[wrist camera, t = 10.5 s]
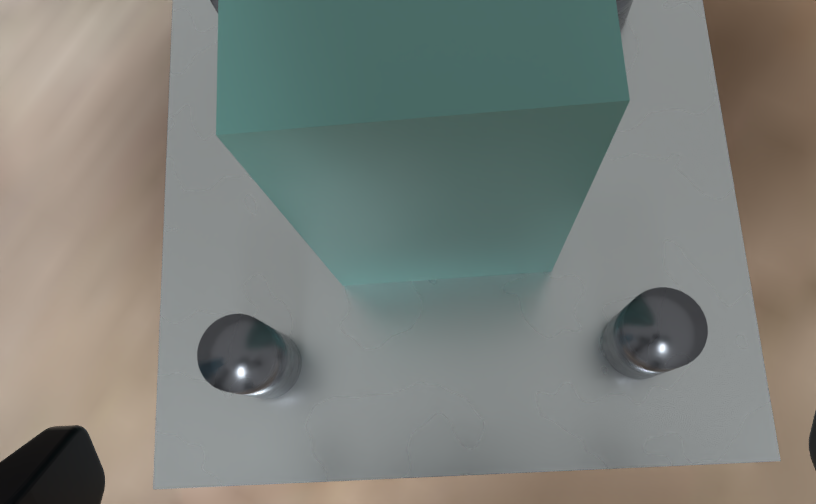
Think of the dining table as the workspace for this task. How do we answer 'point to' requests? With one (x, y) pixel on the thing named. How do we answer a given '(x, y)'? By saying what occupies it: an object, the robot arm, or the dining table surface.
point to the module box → (422, 126)
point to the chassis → (465, 310)
